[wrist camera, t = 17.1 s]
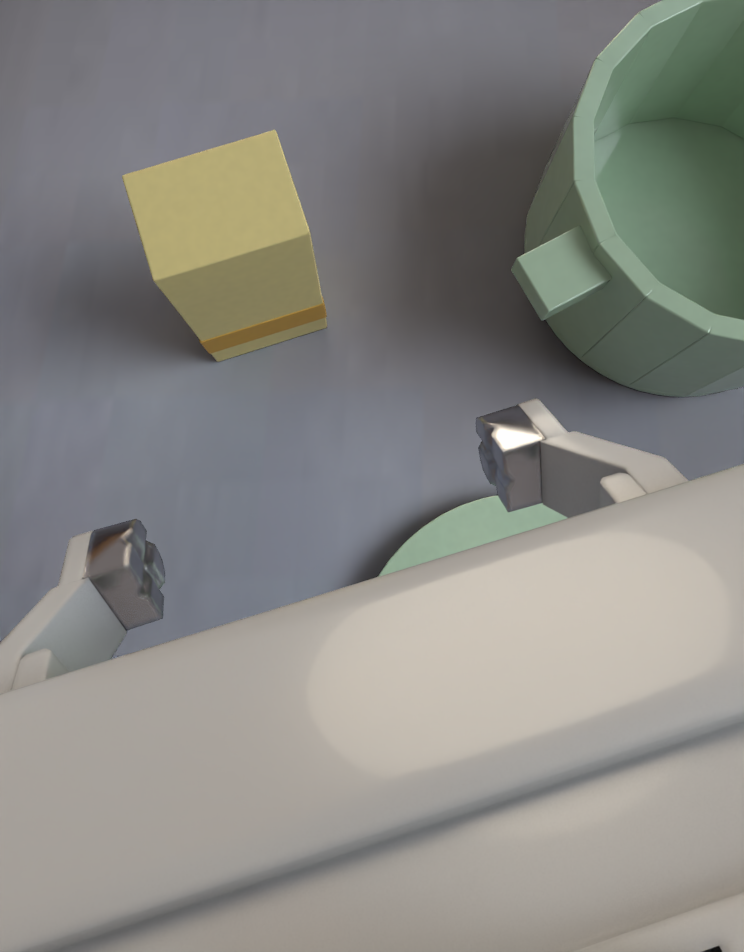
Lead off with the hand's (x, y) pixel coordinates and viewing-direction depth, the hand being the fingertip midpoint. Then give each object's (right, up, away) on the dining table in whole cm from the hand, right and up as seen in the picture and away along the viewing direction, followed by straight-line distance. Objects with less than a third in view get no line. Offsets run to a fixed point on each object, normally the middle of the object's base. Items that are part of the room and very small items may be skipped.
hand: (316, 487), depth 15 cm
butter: (-4, +8, +15) cm, 18 cm away
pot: (+16, +11, +16) cm, 25 cm away
